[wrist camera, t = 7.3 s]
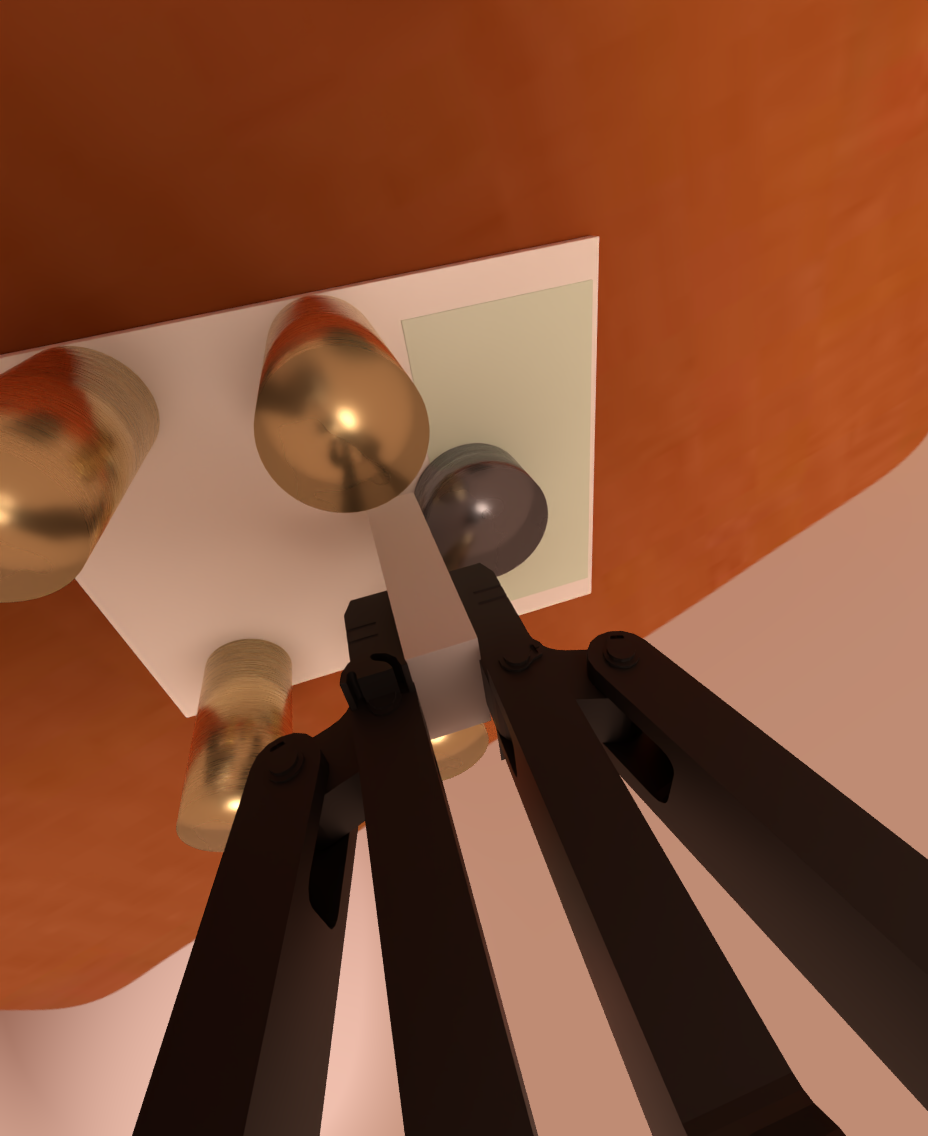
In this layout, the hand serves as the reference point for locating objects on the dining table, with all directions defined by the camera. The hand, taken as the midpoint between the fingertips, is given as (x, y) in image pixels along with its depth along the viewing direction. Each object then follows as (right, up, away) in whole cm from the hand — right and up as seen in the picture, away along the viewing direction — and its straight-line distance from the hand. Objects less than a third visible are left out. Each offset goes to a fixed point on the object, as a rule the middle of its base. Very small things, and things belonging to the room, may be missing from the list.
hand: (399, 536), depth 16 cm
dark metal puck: (+2, +1, +2) cm, 3 cm away
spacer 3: (-2, +5, -2) cm, 5 cm away
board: (-2, +1, +1) cm, 2 cm away
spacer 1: (-7, +3, -3) cm, 9 cm away
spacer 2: (-6, -5, +3) cm, 8 cm away
